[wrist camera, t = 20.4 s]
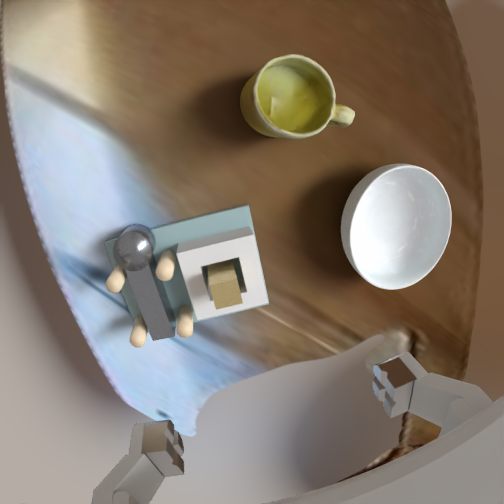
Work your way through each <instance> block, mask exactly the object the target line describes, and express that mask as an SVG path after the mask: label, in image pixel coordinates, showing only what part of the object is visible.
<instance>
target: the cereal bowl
mask: <svg viewBox="0 0 504 504" xmlns="http://www.w3.org/2000/svg"><path fill="white" fill-rule="evenodd" d="M451 217H452V216H451V206H450V202H449V198H448V195H447V193H446V191H445V189H444V187H443V185H442V184H441V183H440V181H439V180H438V179H437V178H436V177H435V176H434V175H433V174H432V173H430V172H429V171H427V170H425V169H423V168H421V167H417V166H414V165H410V164H391V165H386V166H382V167H380V168H377V169H376V170H373V171H372V172H370V173H369V174H367V175H366V176H365V177H364V178H362V180H361V181H359V183H358V184H357V185H356V186H355V187H354V189H353V190H352V192H351V193H350V196H349V197H348V200H347V201H346V204H345V207H344V211H343V215H342V220H341V238H342V244H343V248H344V251H345V254H346V256H347V258H348V260H349V262H350V263H351V265H352V266H353V268H354V269H355V271H357V273H358V274H359V275H360V276H361V277H362V278H364V279H365V280H366V281H367V282H369V283H370V284H372V285H374V286H376V287H379V288H382V289H401V288H405V287H408V286H410V285H413V284H415V283H416V282H418V281H419V280H421V279H422V278H423V277H425V276H426V275H427V274H428V273H429V272H430V271H431V270H432V269H433V267H434V266H435V265H436V264H437V262H438V261H439V259H440V257H441V256H442V254H443V252H444V250H445V247H446V245H447V242H448V239H449V235H450V230H451Z"/></svg>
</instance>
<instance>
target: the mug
mask: <svg viewBox="0 0 504 504" xmlns="http://www.w3.org/2000/svg"><path fill="white" fill-rule="evenodd" d="M240 109H241V112H242V115H243V117H244V119H245V121H246V122H247V123H248V124H249V125H250V126H251V127H252V128H253V129H254V130H256V131H257V132H259V133H261V134H263V135H266V136H270V137H282V138H288V139H303V138H307V137H310V136H312V135H315V134H317V133H319V132H320V131H321V130H323V129H324V128H325V127H326V126H332V127H333V126H337V127H343V128H344V127H347V126H349V125H350V124H351V123H352V121H353V119H354V116H355V112H354V111H353V110H351V109H350V108H349V107H347V106H344V105H342V104H335V90H334V86H333V83H332V81H331V79H330V77H329V75H328V74H327V72H326V71H325V70H324V69H323V68H322V67H321V66H320V65H319V64H317V63H316V62H315V61H313V60H312V59H310V58H307V57H305V56H302V55H297V54H290V55H284V56H281V57H278V58H274V59H272V60H271V61H269V62H267V63H266V64H265V65H263V66H262V67H261V68H259V69H258V70H257V71H256V73H255V74H254V75H253V76H252V77H251V78H250V79H249V80H248V81H247V82H246V84H245V85H244V87H243V89H242V92H241V96H240Z"/></svg>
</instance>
